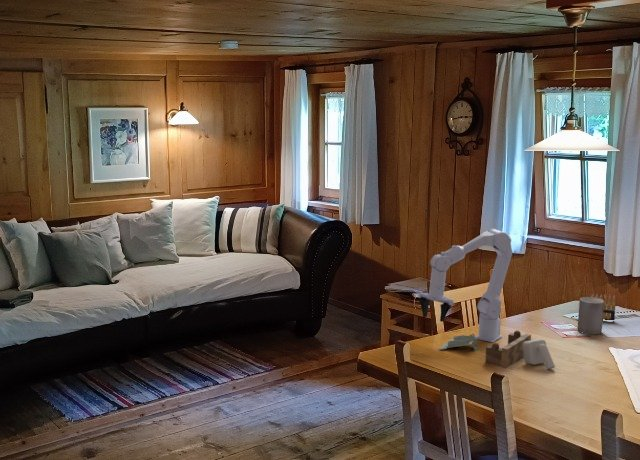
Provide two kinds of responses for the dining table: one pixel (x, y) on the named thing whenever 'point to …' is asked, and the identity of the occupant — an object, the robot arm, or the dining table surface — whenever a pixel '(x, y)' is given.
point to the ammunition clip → (608, 307)
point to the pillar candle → (590, 315)
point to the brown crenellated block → (507, 350)
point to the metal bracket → (461, 342)
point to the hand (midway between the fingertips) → (433, 318)
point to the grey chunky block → (537, 353)
